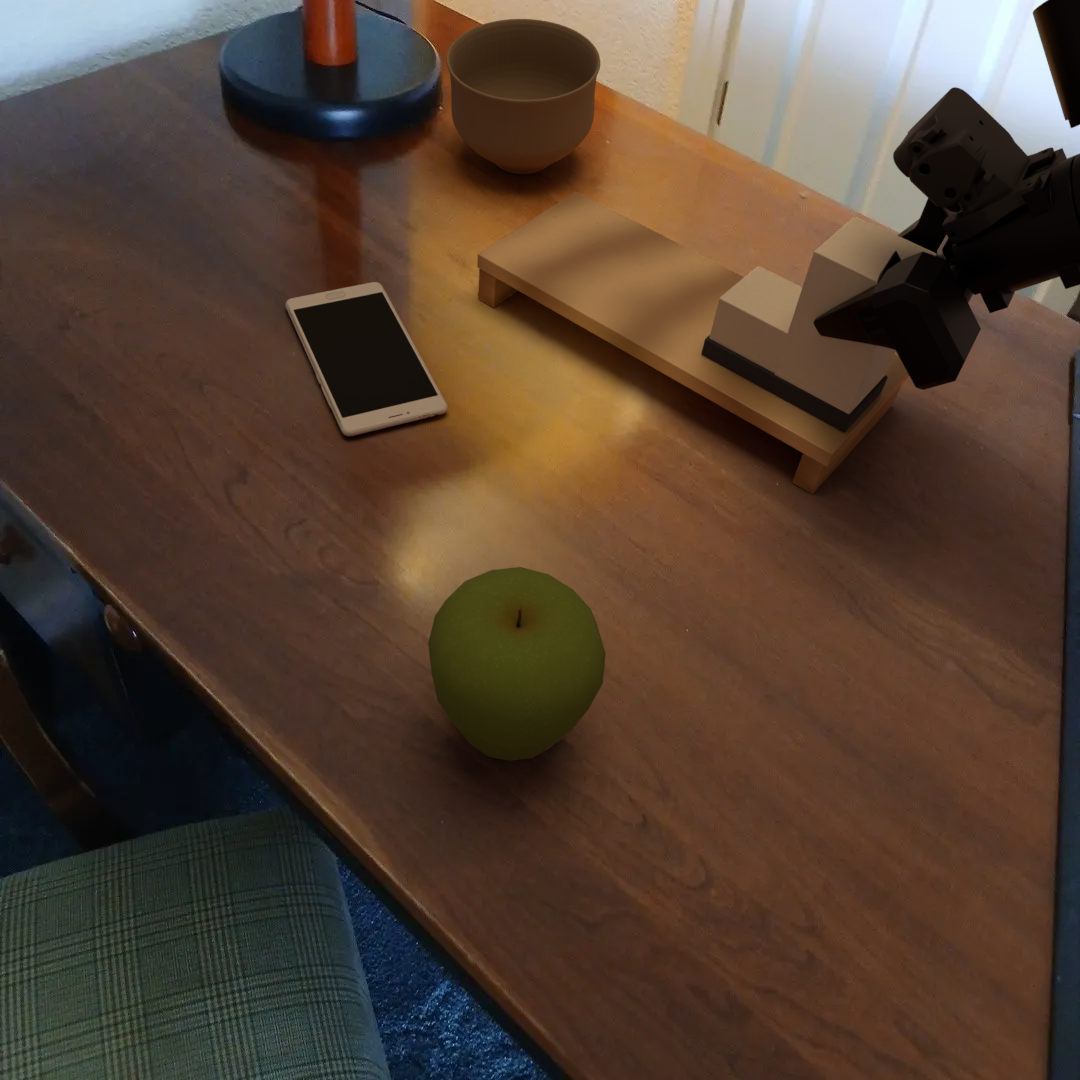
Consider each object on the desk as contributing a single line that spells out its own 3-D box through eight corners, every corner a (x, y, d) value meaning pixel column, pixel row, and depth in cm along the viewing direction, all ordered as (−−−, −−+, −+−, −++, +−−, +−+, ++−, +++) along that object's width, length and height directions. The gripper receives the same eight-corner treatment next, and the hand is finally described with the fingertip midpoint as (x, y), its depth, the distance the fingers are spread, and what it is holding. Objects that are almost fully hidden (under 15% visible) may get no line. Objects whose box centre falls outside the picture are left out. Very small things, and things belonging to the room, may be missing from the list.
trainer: (881, 392, 71) (941, 254, 62) (844, 433, 68) (901, 294, 60) (741, 318, 75) (779, 180, 66) (700, 354, 72) (735, 214, 64)
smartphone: (380, 279, 80) (450, 408, 71) (380, 286, 80) (450, 415, 72) (282, 298, 77) (343, 434, 69) (283, 305, 78) (344, 441, 69)
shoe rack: (895, 406, 76) (914, 364, 73) (814, 496, 70) (832, 454, 67) (571, 233, 87) (576, 190, 84) (475, 297, 80) (477, 253, 77)
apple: (617, 756, 56) (651, 635, 47) (482, 833, 53) (492, 718, 44) (530, 640, 61) (547, 509, 52) (400, 703, 57) (394, 575, 48)
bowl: (415, 160, 92) (414, 47, 84) (511, 111, 99) (518, 2, 91) (523, 221, 87) (531, 107, 80) (616, 166, 94) (632, 55, 86)
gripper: (1071, 2, 57) (824, 128, 69) (984, 145, 46) (708, 267, 58) (1144, 180, 61) (899, 271, 72) (1080, 351, 50) (803, 427, 61)
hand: (833, 303), depth 66 cm, fingers closed on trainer, 5 cm apart
